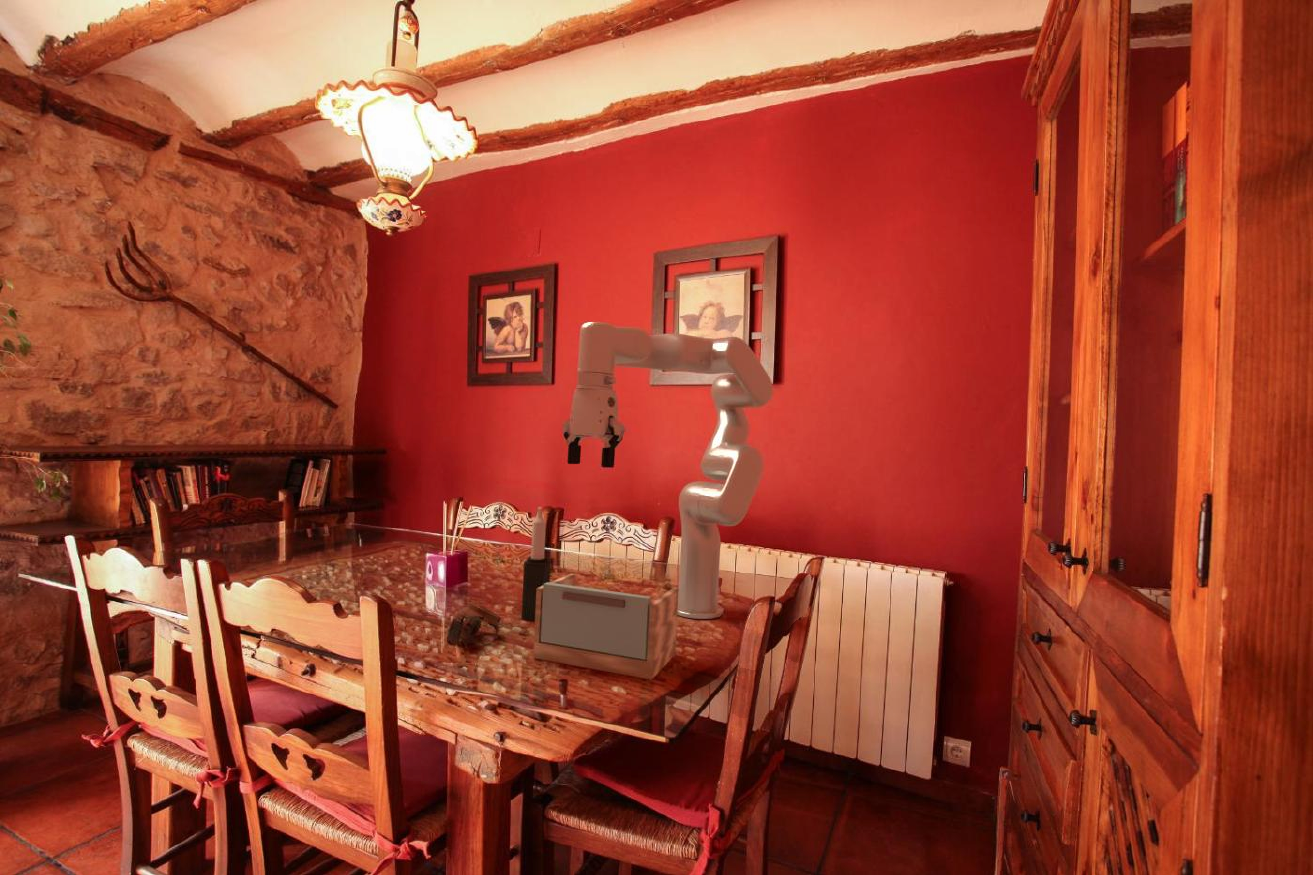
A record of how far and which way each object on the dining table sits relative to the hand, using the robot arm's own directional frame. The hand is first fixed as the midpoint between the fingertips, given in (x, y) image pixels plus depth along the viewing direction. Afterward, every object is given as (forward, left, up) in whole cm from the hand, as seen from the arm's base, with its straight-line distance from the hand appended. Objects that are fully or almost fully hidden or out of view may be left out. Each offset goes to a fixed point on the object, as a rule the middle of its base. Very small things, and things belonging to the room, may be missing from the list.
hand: (590, 465), depth 130 cm
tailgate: (+15, +9, -33) cm, 37 cm away
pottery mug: (+12, -18, -36) cm, 42 cm away
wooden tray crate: (+8, +9, -36) cm, 37 cm away
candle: (-7, -15, -36) cm, 39 cm away
